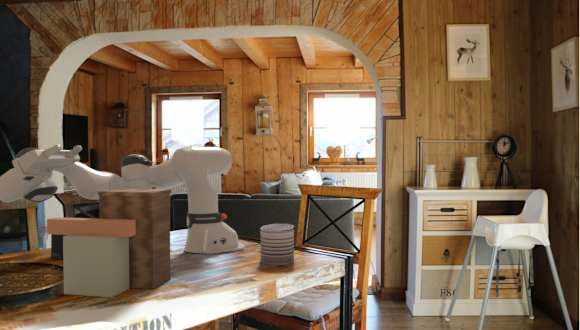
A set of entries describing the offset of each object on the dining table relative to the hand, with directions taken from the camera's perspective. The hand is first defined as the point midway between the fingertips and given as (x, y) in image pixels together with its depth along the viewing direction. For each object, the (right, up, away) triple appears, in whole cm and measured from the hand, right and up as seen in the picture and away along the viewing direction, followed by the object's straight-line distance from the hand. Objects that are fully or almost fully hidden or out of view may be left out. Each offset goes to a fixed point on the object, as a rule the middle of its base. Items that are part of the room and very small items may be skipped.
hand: (70, 146), depth 148 cm
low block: (+17, -39, -22) cm, 48 cm away
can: (+64, -38, +14) cm, 76 cm away
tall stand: (+25, -39, -13) cm, 48 cm away
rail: (+16, -24, -22) cm, 36 cm away
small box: (-10, -38, +22) cm, 45 cm away
